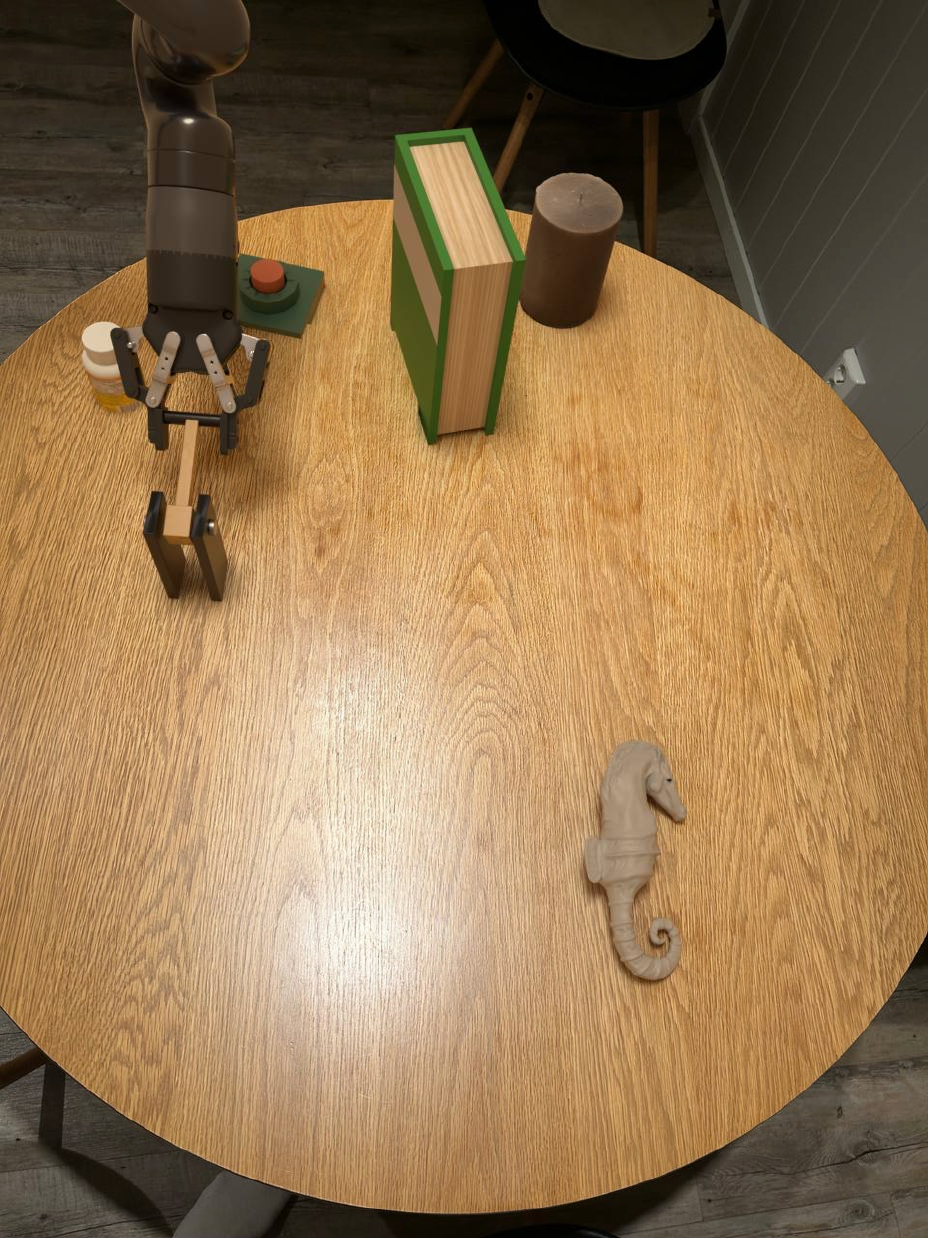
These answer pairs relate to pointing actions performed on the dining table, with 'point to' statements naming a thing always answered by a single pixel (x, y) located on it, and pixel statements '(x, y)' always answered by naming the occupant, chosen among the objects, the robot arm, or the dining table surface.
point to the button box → (279, 299)
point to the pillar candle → (569, 248)
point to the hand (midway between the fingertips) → (194, 451)
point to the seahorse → (633, 848)
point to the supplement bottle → (105, 369)
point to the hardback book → (452, 279)
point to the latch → (185, 475)
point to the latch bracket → (172, 555)
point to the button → (267, 276)
